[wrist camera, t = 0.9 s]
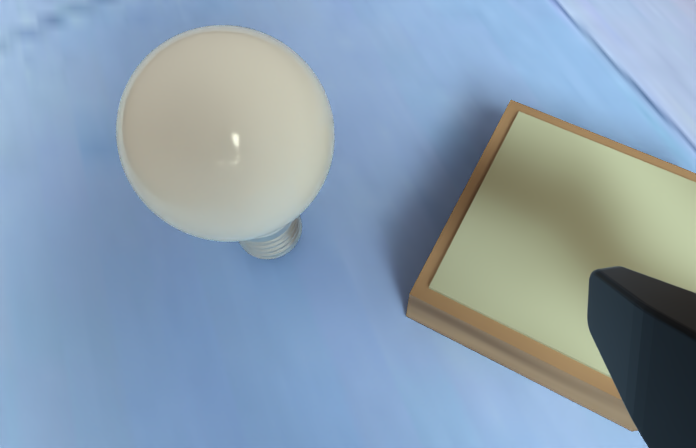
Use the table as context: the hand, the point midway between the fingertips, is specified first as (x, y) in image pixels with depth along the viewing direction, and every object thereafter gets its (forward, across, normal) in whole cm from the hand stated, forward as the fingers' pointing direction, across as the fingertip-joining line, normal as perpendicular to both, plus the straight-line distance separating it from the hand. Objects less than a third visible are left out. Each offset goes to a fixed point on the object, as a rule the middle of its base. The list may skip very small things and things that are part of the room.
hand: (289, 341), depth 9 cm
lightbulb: (+16, +2, +6) cm, 17 cm away
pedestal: (+13, -9, +8) cm, 18 cm away
